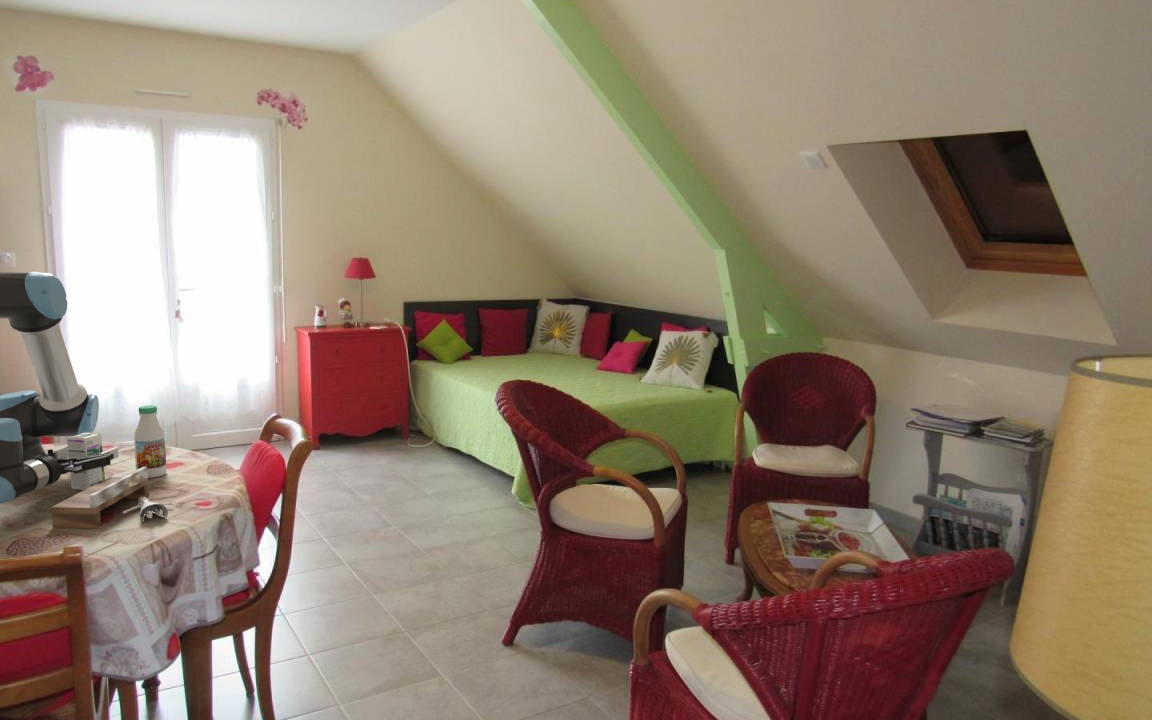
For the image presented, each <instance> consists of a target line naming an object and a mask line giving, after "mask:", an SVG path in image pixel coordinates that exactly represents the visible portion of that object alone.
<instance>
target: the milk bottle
mask: <svg viewBox="0 0 1152 720" xmlns="http://www.w3.org/2000/svg"><path fill="white" fill-rule="evenodd" d="M157 407H158V406H156V405H152V404H151V405H150V404H149V405H142V406H139V407H138V413H139V414H138V415H139V421H138V424H137V427H135V428H136V429H135V432H134V437H133V438H134V440H133V441H134V458H135V463H134V464H135V471H136V470H138V469H140V468H142V467H147V470H148V479H153V478H158V477H162V476H165V474H167V453H166V440H165V432H164V430H163V427H162V425H161V423H160V422H159V420H158V416H157V414H158V408H157Z"/></svg>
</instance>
